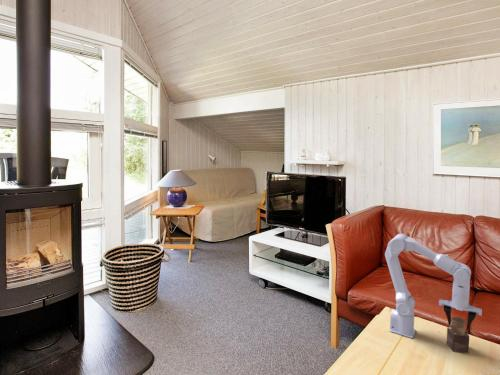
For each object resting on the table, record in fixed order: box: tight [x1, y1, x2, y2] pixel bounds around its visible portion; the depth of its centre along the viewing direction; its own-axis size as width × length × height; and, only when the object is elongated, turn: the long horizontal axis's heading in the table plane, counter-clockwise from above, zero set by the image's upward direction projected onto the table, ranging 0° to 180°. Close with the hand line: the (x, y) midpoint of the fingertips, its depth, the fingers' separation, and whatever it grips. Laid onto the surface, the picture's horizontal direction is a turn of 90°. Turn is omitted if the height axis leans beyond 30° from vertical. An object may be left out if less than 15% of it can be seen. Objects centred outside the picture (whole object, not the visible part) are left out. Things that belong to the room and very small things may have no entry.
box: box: [446, 326, 470, 354], centre depth 129 cm, size 6×6×7 cm
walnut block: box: [450, 315, 467, 336], centre depth 129 cm, size 4×4×5 cm
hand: (458, 326), depth 129 cm, fingers open, 6 cm apart
